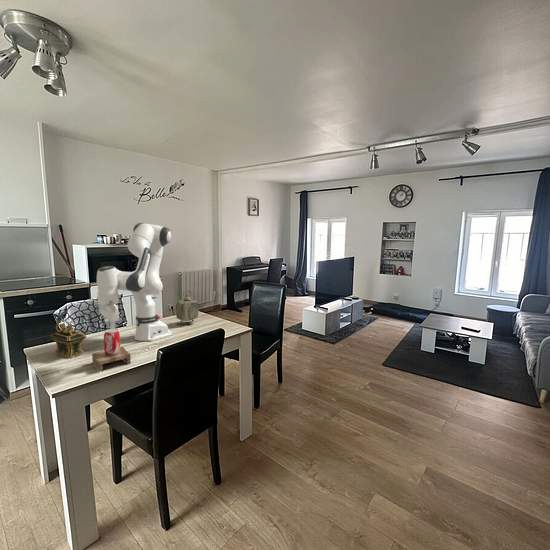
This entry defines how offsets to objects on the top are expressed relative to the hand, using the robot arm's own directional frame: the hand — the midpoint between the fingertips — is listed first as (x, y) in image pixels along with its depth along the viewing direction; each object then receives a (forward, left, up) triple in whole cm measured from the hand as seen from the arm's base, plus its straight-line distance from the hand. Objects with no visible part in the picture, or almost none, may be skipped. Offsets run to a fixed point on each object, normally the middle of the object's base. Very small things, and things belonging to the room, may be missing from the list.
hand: (109, 326), depth 142 cm
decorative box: (+14, -29, -20) cm, 38 cm away
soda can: (-1, 0, -14) cm, 14 cm away
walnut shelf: (0, 0, -19) cm, 19 cm away
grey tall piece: (-60, -36, -19) cm, 73 cm away
